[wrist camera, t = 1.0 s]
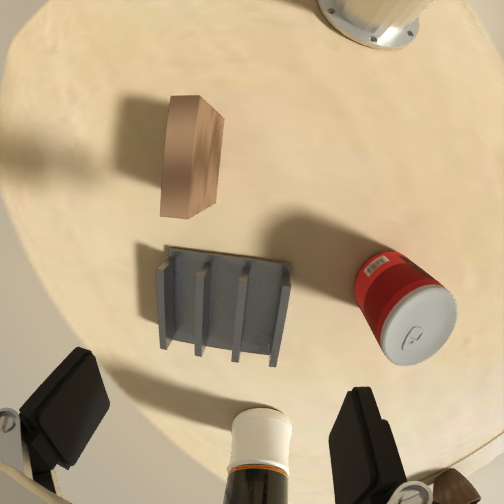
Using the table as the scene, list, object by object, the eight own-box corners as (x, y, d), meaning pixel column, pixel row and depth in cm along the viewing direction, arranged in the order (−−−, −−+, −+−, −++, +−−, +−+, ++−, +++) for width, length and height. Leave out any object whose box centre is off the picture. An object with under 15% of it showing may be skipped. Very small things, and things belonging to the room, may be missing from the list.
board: (203, 118, 27) (170, 95, 17) (224, 118, 27) (199, 95, 17) (195, 200, 30) (159, 216, 20) (216, 202, 29) (187, 219, 20)
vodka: (276, 398, 36) (265, 599, 8) (300, 430, 38) (302, 596, 10) (221, 413, 38) (181, 588, 10) (250, 442, 40) (229, 595, 12)
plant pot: (428, 474, 44) (442, 516, 29) (472, 454, 42) (489, 491, 27) (418, 492, 48) (428, 529, 33) (458, 475, 46) (470, 509, 31)
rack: (171, 247, 31) (156, 259, 27) (290, 262, 31) (292, 277, 26) (171, 336, 35) (160, 354, 31) (274, 351, 34) (274, 373, 30)
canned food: (344, 307, 32) (369, 365, 21) (363, 242, 29) (403, 280, 19) (398, 315, 31) (435, 367, 21) (418, 255, 29) (470, 293, 19)
